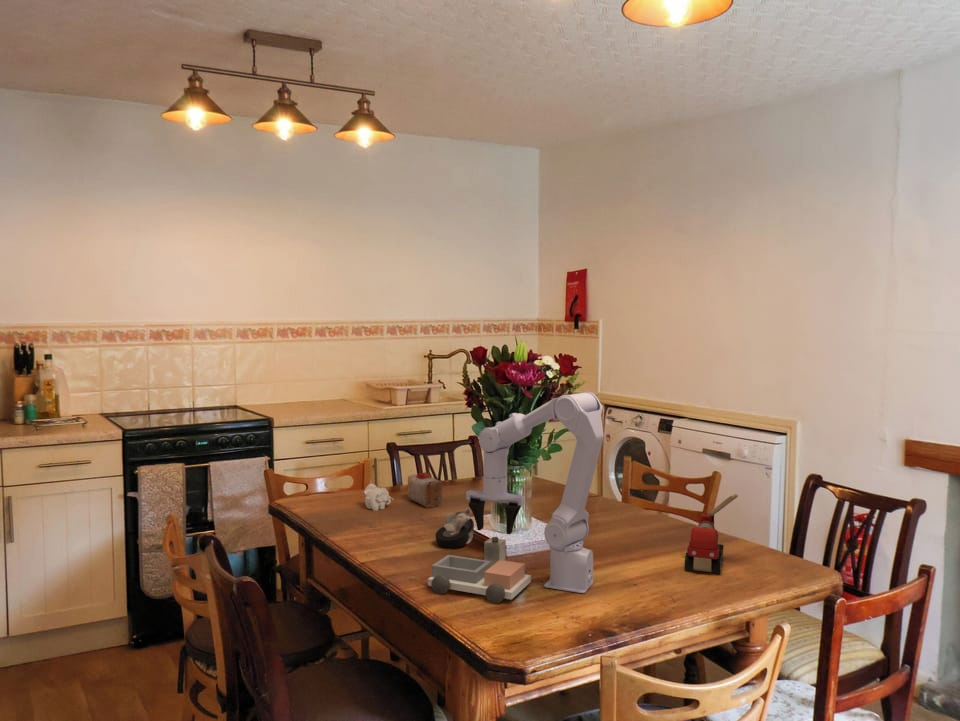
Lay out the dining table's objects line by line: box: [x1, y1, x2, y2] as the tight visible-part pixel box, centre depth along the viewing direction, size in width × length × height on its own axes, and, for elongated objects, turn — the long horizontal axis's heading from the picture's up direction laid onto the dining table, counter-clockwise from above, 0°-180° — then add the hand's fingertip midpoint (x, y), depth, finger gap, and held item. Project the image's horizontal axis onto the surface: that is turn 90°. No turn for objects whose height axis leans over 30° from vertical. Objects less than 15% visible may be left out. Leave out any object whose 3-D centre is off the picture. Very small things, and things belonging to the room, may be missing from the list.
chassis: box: [427, 554, 532, 605], centre depth 182 cm, size 20×14×6 cm
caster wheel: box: [435, 508, 475, 550], centre depth 215 cm, size 7×12×10 cm
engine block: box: [483, 536, 507, 567], centre depth 198 cm, size 4×4×7 cm
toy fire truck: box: [684, 493, 739, 575], centre depth 199 cm, size 11×16×18 cm
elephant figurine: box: [364, 483, 395, 512], centre depth 250 cm, size 8×10×7 cm
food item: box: [407, 471, 443, 509], centre depth 257 cm, size 14×8×10 cm, turn 32°
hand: (494, 531), depth 198 cm, fingers open, 7 cm apart
